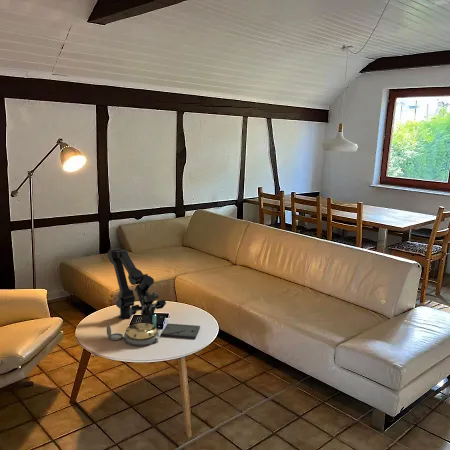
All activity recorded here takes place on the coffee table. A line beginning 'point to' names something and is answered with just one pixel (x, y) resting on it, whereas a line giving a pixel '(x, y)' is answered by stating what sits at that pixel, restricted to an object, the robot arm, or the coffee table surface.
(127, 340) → the dark grey round disc
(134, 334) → the tan round piece
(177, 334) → the picture frame
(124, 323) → the coffee table surface
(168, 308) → the coffee table surface
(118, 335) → the pocket watch
